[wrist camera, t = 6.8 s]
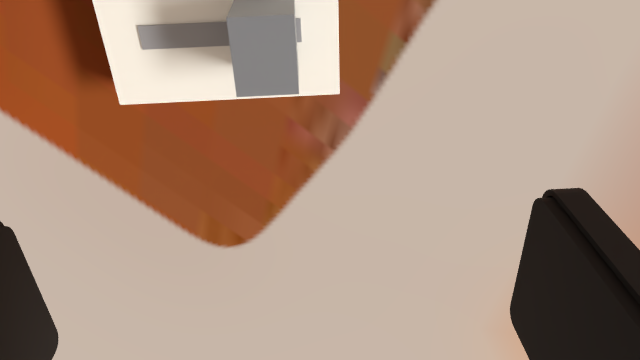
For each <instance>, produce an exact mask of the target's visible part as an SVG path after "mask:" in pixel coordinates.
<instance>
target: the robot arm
mask: <svg viewBox="0 0 640 360" xmlns="http://www.w3.org/2000/svg"><path fill="white" fill-rule="evenodd" d="M510 315H511V320H512V324H513V326H514V328H515V330H516V332H517V335H518V337H519V339H520V341H521V343H522V345H523V347H524V349H525V351H526V353H527V355H528V357H529V360H640V250H639V249H638V248H637V247H636V246H635V245H634V244H633V243H632V241H631V240H630V239H629V238H628V237H627V236H626V235H625V234H624V233H623V232H622V231H621V229H620V228H619V227H618V226H617V225H616V224H615V223H614V222H613V221H612V219H611V218H610V217H609V216H608V215H607V214H606V213H605V212H604V211H603V210H602V208H601V207H600V206H599V205H598V204H597V203H596V202H595V201H594V200H593V199H592V198H591V196H590V195H589V194H588V193H587V192H586V191H585V190H583V189H581V188H571V189H551V190H547V191H546V192H545V193H544V194H543V197H542V198H537V199H536V200H535V201H534V203H533V206H532V211H531V215H530V220H529V224H528V229H527V233H526V238H525V242H524V247H523V251H522V255H521V260H520V265H519V269H518V273H517V278H516V282H515V287H514V292H513V296H512V300H511V306H510ZM57 345H58V332H57V329H56V327H55V325H54V322H53V320H52V318H51V315H50V313H49V311H48V309H47V306H46V304H45V302H44V300H43V298H42V295H41V293H40V291H39V288H38V286H37V284H36V282H35V279H34V277H33V275H32V273H31V270H30V268H29V266H28V263H27V261H26V259H25V257H24V254H23V252H22V250H21V247H20V245H19V243H18V241H17V238H16V236H15V234H14V232H13V230H12V229H11V228H10V227H7V226H4V225H3V223H2V222H0V360H52V358H53V356H54V354H55V352H56V349H57Z"/></svg>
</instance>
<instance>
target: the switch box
mask: <svg viewBox="0 0 640 360" xmlns="http://www.w3.org/2000/svg"><path fill="white" fill-rule="evenodd" d="M92 1H93V5H94V9H95V12H96V16H97V20H98V24H99V27H100V31H101V35H102V39H103V42H104V46H105V50H106V54H107V57H108V61H109V65H110V69H111V72H112V76H113V80H114V84H115V87H116V91H117V95H118V99H119V103H120V105H125V104H146V103H166V102H186V101H207V100H227V99H247V98H268V97H288V96H308V95H329V94H340V88H339V20H338V0H295V16H296V33H297V50H298V67H299V94H290V95H270V96H249V97H237V96H236V89H235V81H234V74H233V66H232V58H231V51H230V43H229V36H228V28H227V20H226V17H227V15H228V12H229V10H230V8H231V5H232V3H233V1H234V0H92Z"/></svg>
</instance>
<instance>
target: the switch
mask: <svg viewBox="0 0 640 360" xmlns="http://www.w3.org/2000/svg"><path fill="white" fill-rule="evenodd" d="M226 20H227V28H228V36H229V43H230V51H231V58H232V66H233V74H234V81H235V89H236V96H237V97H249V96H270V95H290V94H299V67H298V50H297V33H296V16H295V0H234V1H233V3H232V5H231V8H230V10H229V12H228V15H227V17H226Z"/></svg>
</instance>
